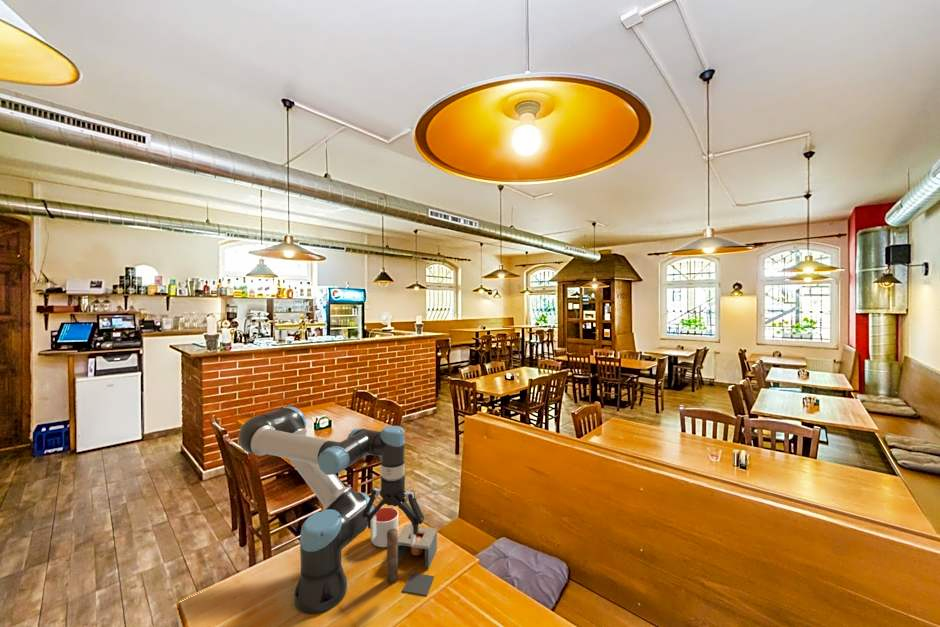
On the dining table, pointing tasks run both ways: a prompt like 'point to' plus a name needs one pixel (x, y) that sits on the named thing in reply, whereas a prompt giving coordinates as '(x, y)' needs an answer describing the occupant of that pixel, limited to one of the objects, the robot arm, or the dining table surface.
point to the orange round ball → (416, 550)
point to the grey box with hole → (418, 542)
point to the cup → (384, 525)
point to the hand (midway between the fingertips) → (393, 540)
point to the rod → (392, 556)
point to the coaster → (418, 584)
